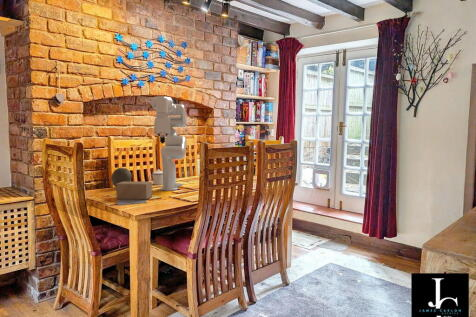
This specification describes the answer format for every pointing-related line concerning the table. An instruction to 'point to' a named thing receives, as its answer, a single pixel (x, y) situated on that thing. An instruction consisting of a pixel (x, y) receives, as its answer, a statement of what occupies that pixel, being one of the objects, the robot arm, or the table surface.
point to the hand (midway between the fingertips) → (162, 143)
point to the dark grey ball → (121, 176)
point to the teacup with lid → (157, 177)
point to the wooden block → (134, 190)
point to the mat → (130, 201)
